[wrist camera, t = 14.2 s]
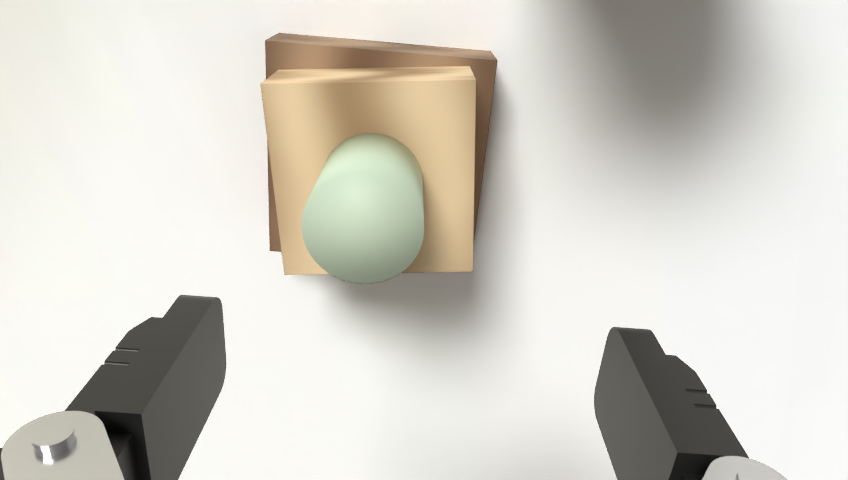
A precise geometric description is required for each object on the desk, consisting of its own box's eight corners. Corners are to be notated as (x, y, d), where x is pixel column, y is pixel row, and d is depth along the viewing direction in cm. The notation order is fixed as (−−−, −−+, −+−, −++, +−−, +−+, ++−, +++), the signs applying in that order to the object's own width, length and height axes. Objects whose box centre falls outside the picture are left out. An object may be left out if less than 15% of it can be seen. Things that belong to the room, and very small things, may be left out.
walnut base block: (489, 49, 36) (497, 60, 32) (466, 238, 41) (470, 265, 37) (281, 31, 35) (265, 40, 32) (283, 224, 40) (269, 250, 37)
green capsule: (424, 133, 30) (425, 172, 24) (421, 229, 32) (422, 284, 26) (319, 131, 30) (297, 169, 24) (324, 227, 32) (304, 282, 26)
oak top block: (469, 66, 32) (476, 79, 29) (467, 240, 37) (472, 271, 33) (278, 69, 32) (260, 83, 29) (297, 243, 37) (284, 274, 33)
